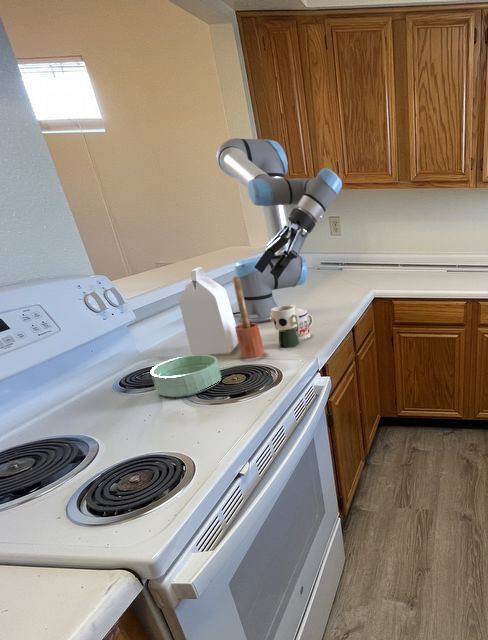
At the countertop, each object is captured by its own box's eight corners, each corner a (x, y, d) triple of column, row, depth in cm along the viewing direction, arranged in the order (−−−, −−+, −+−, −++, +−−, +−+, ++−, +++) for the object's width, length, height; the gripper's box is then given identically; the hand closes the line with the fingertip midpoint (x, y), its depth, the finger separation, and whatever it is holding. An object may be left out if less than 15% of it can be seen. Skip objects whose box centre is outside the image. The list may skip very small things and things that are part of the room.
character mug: (269, 348, 135) (261, 309, 130) (283, 341, 141) (276, 304, 136) (296, 352, 131) (289, 312, 126) (310, 344, 137) (303, 306, 132)
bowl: (149, 388, 110) (141, 367, 107) (208, 370, 120) (202, 350, 118) (170, 405, 100) (162, 382, 98) (232, 383, 111) (227, 363, 108)
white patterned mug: (295, 344, 139) (289, 310, 134) (278, 339, 143) (271, 306, 139) (322, 334, 148) (318, 301, 143) (305, 330, 152) (300, 299, 148)
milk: (231, 354, 131) (210, 271, 121) (192, 357, 130) (167, 273, 119) (241, 342, 142) (222, 264, 131) (205, 345, 140) (184, 266, 130)
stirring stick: (248, 354, 128) (230, 276, 119) (254, 352, 130) (237, 275, 120) (251, 356, 127) (233, 277, 117) (257, 354, 129) (240, 276, 119)
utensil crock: (238, 357, 129) (231, 326, 124) (258, 351, 133) (251, 321, 129) (248, 362, 125) (241, 330, 121) (268, 356, 129) (261, 325, 125)
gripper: (333, 225, 120) (292, 286, 117) (299, 223, 137) (262, 275, 135) (313, 207, 114) (269, 269, 112) (280, 206, 132) (241, 260, 130)
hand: (265, 272), depth 123 cm, fingers open, 13 cm apart
